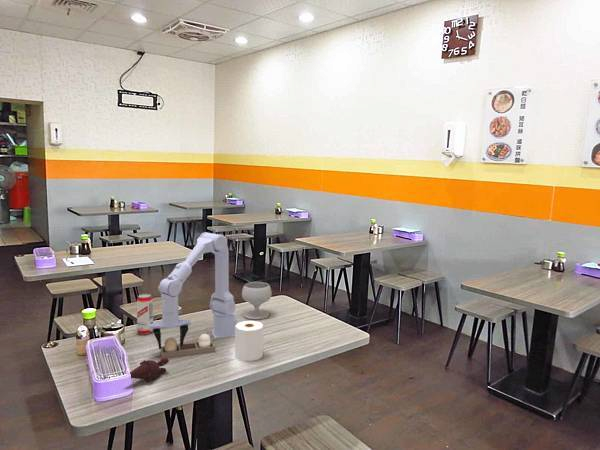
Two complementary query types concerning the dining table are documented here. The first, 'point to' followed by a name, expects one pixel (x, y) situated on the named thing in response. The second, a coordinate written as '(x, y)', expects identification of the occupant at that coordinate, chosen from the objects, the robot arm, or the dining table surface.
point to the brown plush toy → (149, 369)
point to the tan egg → (170, 345)
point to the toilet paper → (249, 340)
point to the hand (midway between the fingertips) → (170, 346)
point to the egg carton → (187, 350)
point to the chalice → (256, 298)
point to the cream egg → (204, 341)
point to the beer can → (144, 313)
